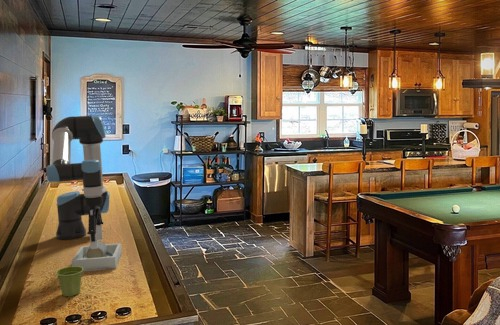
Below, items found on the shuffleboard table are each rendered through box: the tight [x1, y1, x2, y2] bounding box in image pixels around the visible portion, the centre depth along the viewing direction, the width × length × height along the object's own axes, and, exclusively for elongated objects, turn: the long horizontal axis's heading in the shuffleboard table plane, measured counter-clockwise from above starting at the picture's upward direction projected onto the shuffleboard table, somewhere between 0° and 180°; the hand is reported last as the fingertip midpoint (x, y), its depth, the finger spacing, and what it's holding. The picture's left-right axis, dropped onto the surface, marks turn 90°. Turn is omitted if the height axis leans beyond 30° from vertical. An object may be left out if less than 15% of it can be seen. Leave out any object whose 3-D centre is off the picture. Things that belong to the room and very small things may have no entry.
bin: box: [71, 243, 122, 273], centre depth 202 cm, size 20×17×5 cm
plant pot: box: [55, 265, 84, 297], centre depth 168 cm, size 9×9×9 cm
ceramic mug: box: [87, 240, 113, 258], centre depth 202 cm, size 11×8×8 cm
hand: (96, 243), depth 202 cm, fingers open, 13 cm apart
